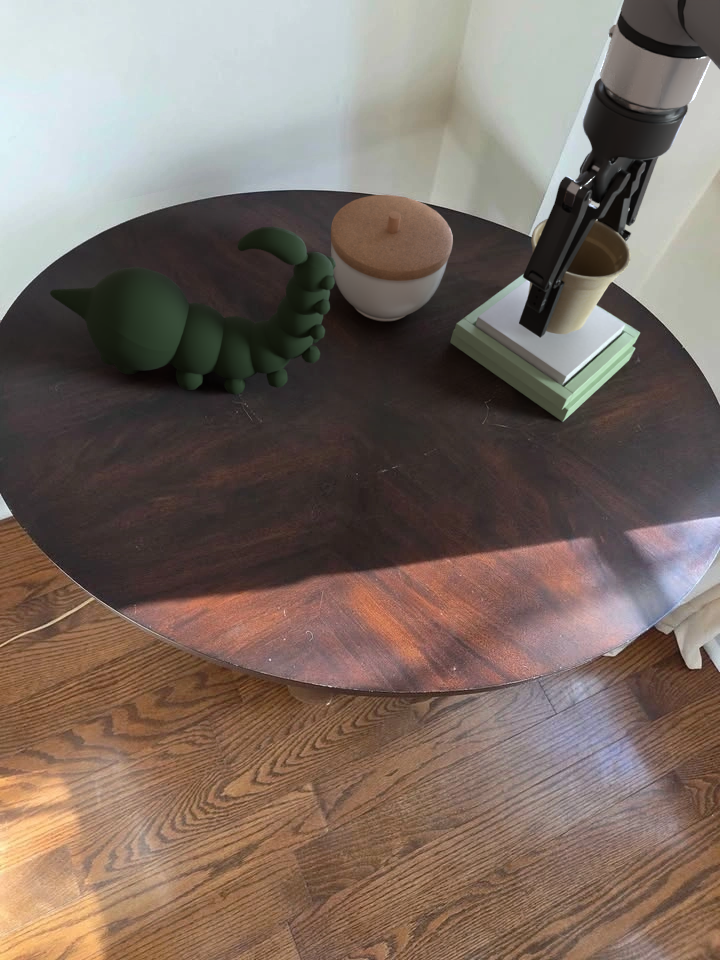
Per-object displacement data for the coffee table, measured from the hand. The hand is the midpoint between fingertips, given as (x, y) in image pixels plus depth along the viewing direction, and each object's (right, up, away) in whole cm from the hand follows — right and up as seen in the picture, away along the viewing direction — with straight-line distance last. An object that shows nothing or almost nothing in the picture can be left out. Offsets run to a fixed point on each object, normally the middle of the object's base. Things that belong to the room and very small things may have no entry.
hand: (557, 307), depth 79 cm
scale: (-1, -4, +5) cm, 6 cm away
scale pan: (0, -2, +3) cm, 3 cm away
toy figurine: (-36, -7, -1) cm, 37 cm away
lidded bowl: (-18, +3, +8) cm, 20 cm away
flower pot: (0, -1, +1) cm, 1 cm away
